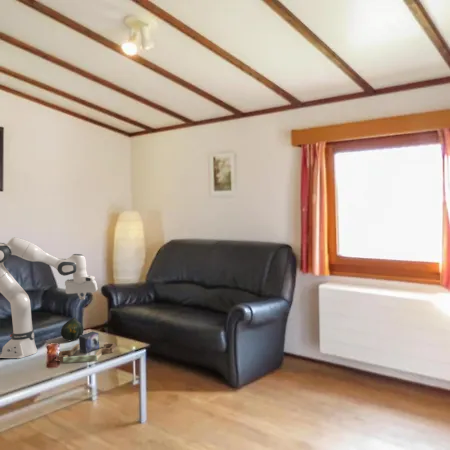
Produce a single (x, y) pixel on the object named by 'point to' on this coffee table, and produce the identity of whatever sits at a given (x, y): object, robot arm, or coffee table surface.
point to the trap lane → (107, 349)
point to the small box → (89, 342)
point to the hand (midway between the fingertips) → (82, 299)
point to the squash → (72, 329)
